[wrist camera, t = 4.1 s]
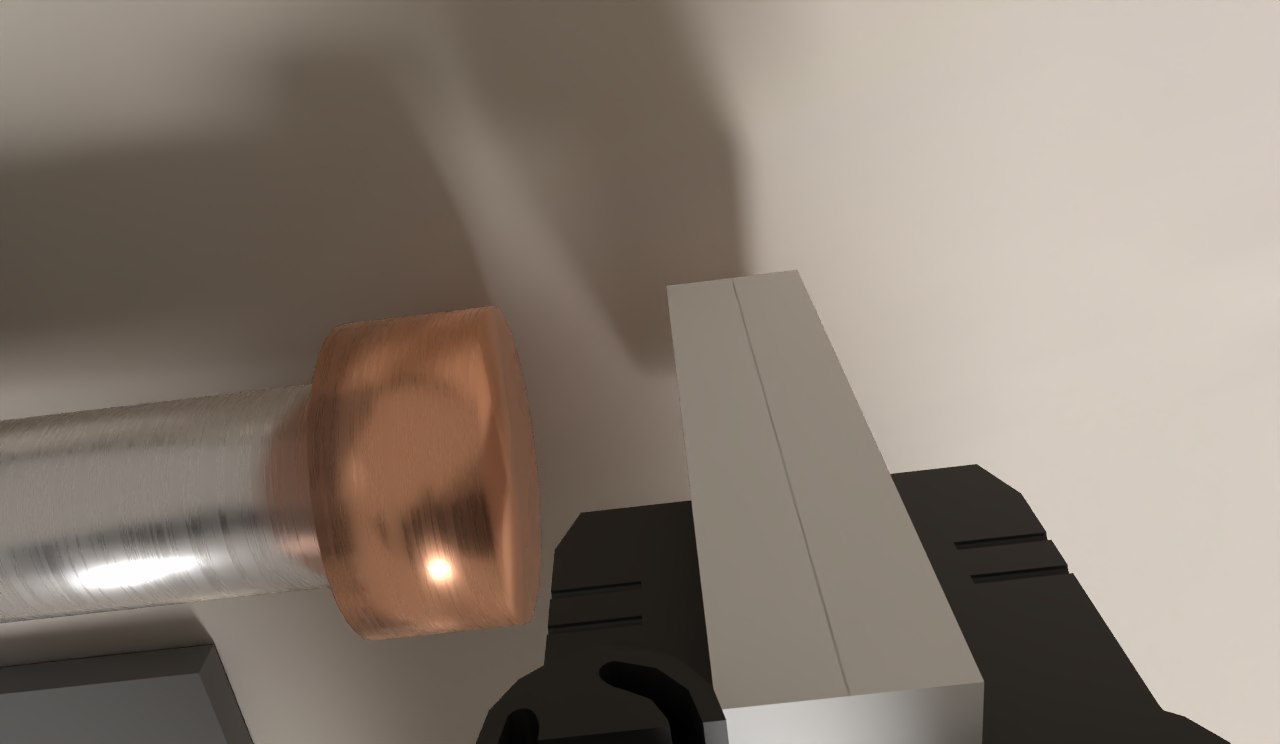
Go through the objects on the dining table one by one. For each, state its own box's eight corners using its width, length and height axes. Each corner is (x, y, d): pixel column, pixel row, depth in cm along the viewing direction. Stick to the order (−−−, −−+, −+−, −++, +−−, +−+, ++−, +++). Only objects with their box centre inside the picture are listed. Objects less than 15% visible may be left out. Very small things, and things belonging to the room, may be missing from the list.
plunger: (-219, 591, 14) (-461, 799, 11) (-359, 365, 12) (-685, 529, 9) (548, 506, 13) (526, 695, 10) (500, 261, 12) (459, 396, 9)
